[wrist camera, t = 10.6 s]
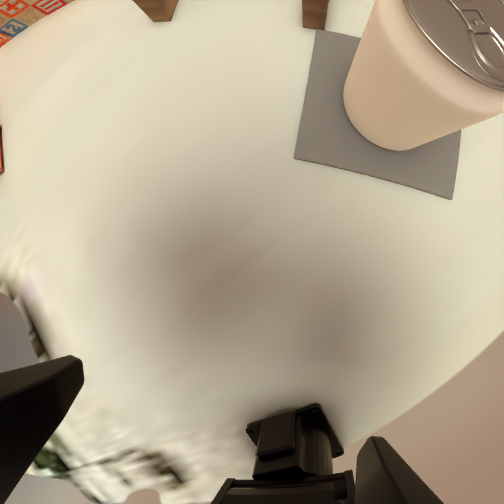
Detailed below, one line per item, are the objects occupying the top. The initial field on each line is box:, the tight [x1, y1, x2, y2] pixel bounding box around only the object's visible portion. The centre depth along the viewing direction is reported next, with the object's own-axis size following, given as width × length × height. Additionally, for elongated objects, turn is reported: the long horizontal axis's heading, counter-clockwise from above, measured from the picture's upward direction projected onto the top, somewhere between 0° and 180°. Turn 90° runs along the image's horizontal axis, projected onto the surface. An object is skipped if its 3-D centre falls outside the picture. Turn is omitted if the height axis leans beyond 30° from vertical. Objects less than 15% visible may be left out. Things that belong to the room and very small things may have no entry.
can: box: [343, 0, 504, 151], centre depth 11 cm, size 6×6×12 cm
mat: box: [294, 29, 461, 200], centre depth 17 cm, size 10×11×1 cm
